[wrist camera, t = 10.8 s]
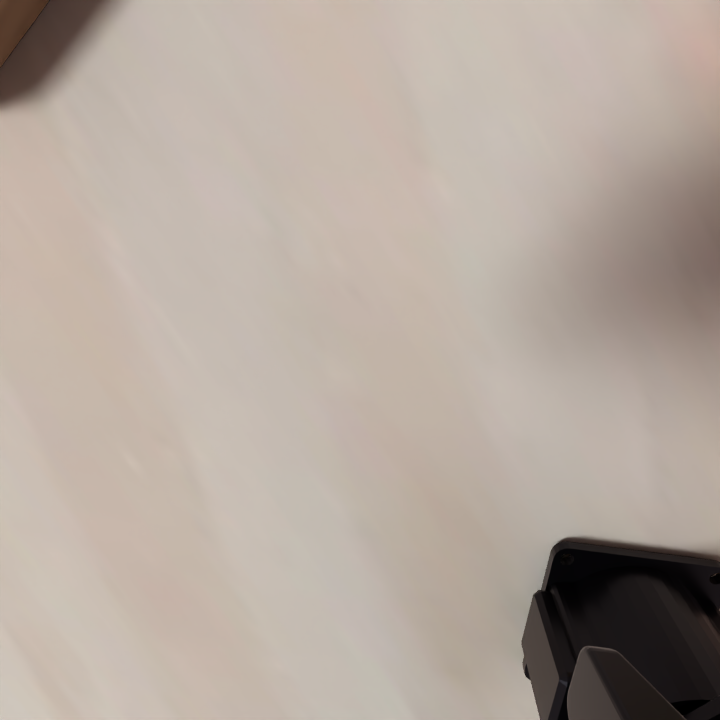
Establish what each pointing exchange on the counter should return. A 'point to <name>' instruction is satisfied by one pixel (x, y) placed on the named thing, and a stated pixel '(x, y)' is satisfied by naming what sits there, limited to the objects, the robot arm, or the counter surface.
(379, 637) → the counter surface
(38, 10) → the tray
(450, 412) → the counter surface
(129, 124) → the counter surface
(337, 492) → the counter surface
